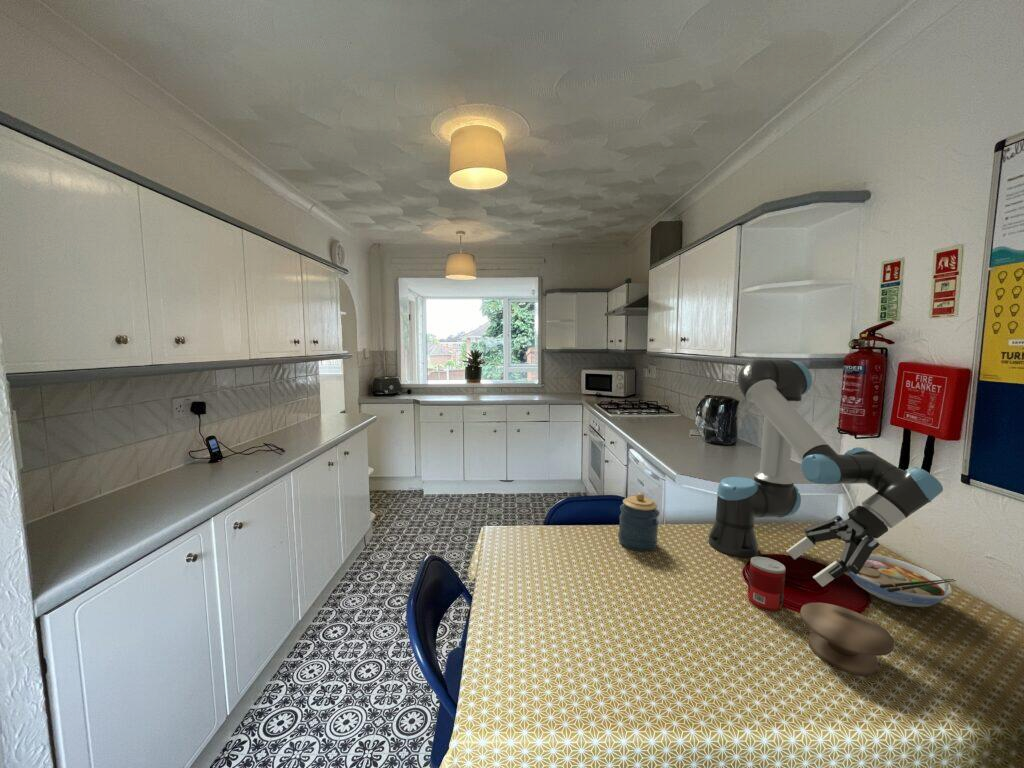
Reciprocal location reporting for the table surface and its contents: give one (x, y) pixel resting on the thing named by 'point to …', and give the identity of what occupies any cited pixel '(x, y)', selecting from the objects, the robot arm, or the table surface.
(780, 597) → the canned food
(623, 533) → the canister
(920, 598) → the ramen bowl
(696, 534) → the table surface
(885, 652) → the cake stand
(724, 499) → the robot arm
